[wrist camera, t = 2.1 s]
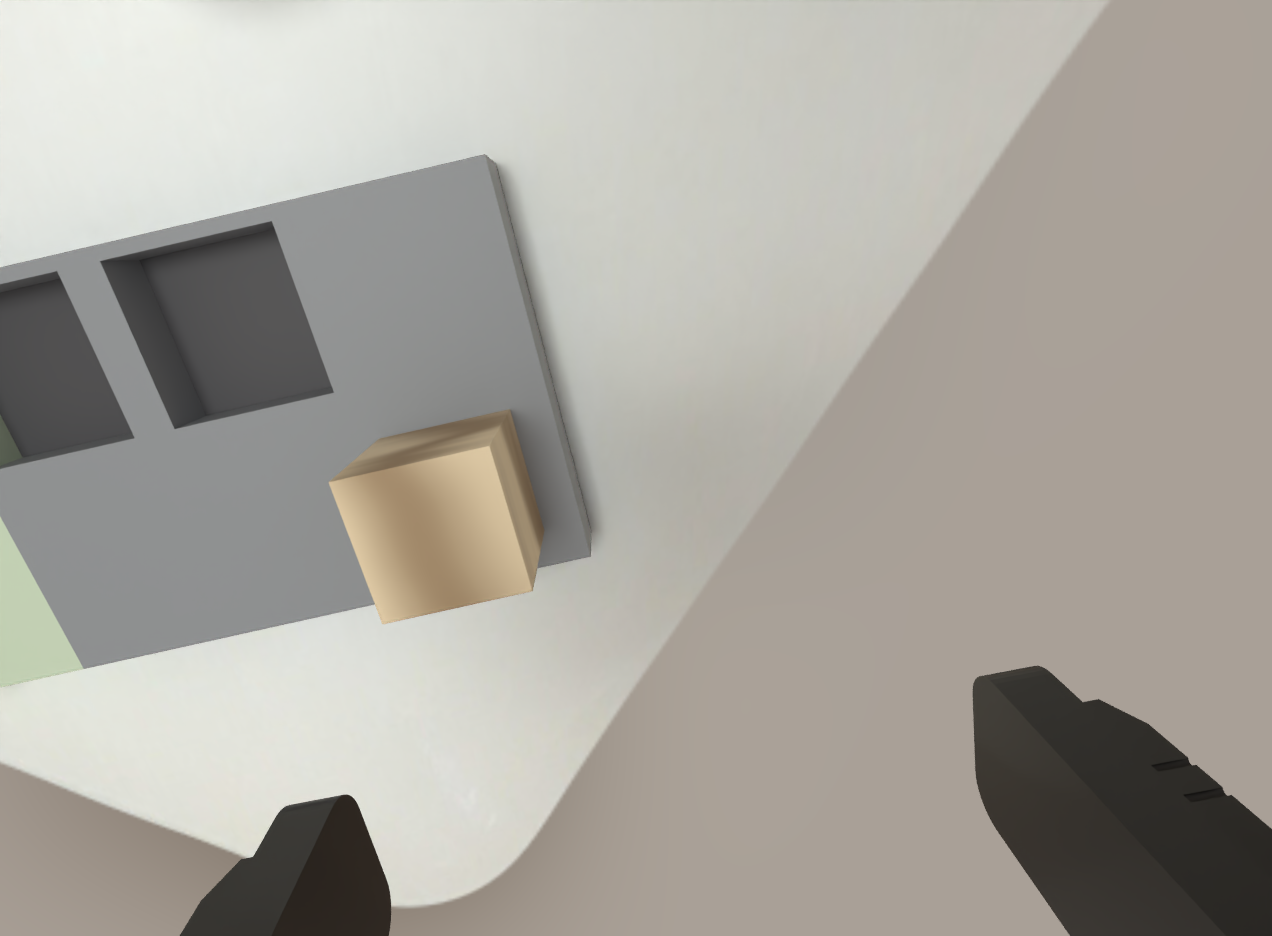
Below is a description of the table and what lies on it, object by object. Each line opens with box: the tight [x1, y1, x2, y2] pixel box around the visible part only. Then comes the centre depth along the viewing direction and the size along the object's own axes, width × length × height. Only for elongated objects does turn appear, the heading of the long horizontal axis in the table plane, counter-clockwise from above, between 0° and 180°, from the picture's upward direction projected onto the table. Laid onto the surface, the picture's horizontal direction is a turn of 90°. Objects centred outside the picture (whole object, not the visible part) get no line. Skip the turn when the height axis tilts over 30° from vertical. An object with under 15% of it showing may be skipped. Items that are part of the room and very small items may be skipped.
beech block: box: [329, 409, 544, 624], centre depth 24 cm, size 5×5×5 cm
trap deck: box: [0, 154, 591, 687], centre depth 26 cm, size 27×15×4 cm, turn 102°
